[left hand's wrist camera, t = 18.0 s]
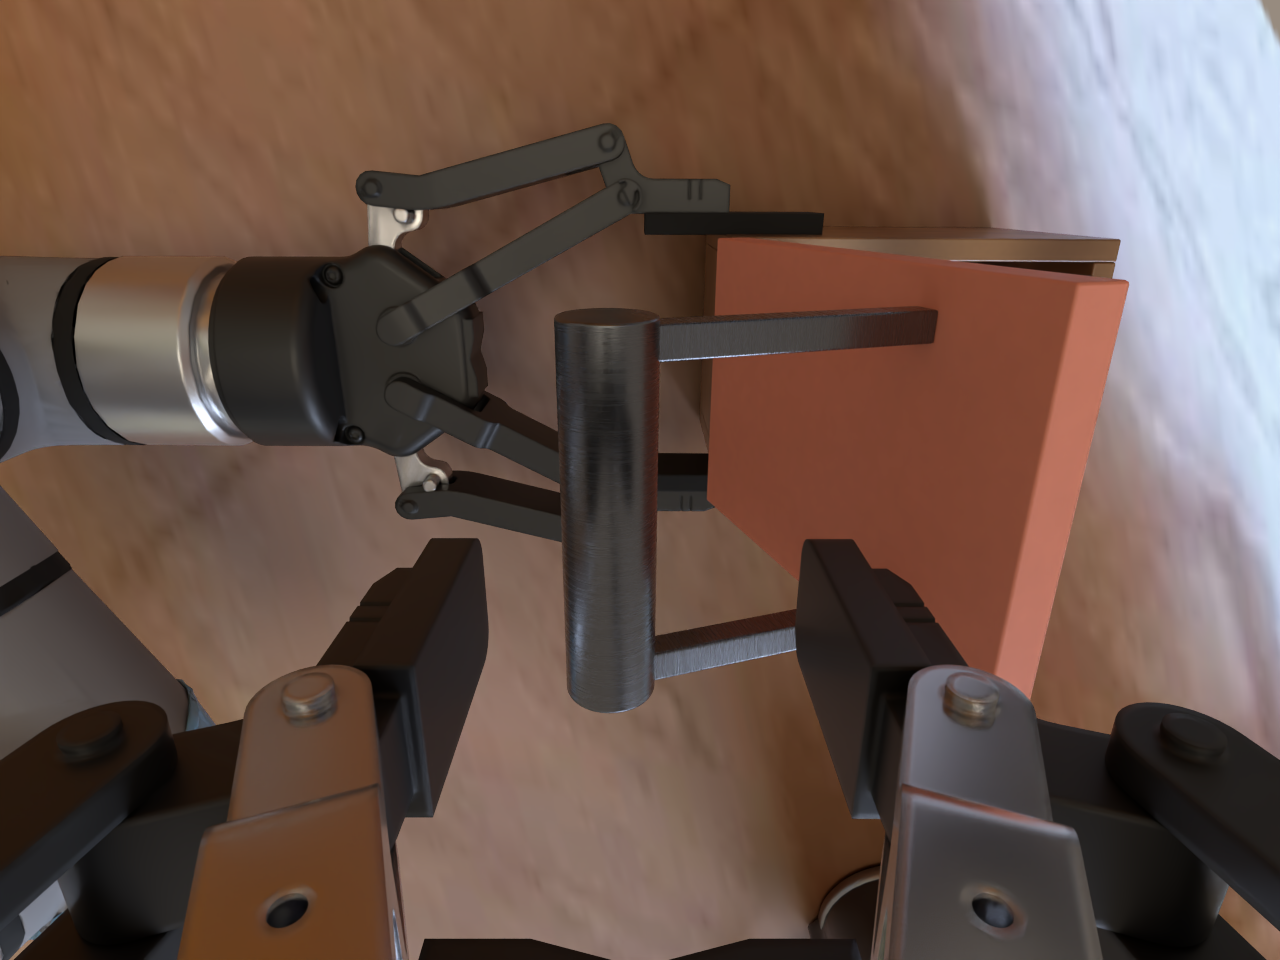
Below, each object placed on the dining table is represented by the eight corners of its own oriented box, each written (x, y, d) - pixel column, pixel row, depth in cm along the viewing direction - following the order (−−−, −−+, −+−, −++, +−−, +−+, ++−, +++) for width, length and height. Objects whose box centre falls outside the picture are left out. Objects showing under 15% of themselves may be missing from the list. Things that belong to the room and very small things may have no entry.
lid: (1132, 280, 12) (614, 300, 10) (1023, 732, 16) (617, 846, 13) (748, 237, 25) (473, 240, 22) (734, 496, 28) (493, 528, 25)
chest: (993, 227, 34) (1122, 239, 25) (960, 421, 38) (1063, 493, 29) (706, 225, 34) (730, 236, 25) (699, 419, 38) (718, 491, 29)
